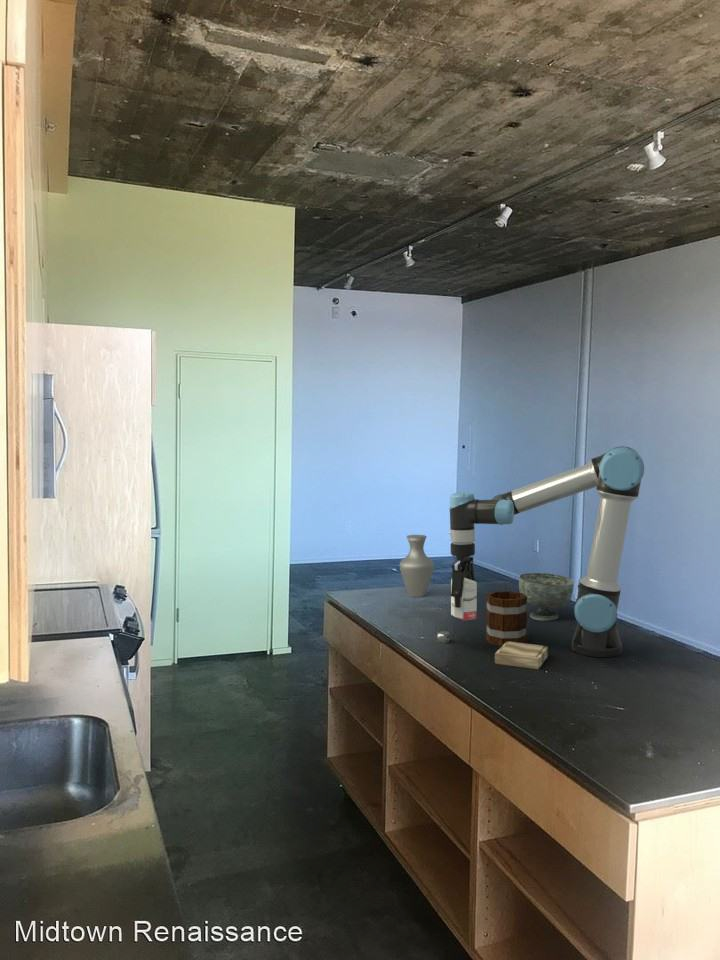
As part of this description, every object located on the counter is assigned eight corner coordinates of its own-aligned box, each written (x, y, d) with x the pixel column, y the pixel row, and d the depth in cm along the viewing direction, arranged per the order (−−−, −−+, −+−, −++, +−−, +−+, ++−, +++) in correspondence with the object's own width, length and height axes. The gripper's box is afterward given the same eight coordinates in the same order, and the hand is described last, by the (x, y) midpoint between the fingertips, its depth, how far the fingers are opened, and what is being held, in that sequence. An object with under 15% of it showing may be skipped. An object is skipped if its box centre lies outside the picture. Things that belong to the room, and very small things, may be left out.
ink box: (478, 619, 231) (477, 581, 230) (463, 621, 229) (463, 582, 228) (464, 612, 239) (463, 576, 238) (450, 614, 237) (449, 577, 236)
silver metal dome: (439, 639, 248) (439, 630, 247) (451, 641, 246) (450, 632, 246) (435, 642, 244) (435, 633, 244) (446, 644, 242) (446, 635, 242)
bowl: (576, 625, 263) (576, 583, 261) (520, 623, 266) (520, 582, 264) (569, 611, 282) (570, 572, 281) (517, 609, 285) (517, 571, 284)
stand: (506, 651, 234) (506, 640, 234) (547, 656, 229) (548, 645, 228) (494, 663, 223) (494, 651, 222) (538, 669, 217) (538, 657, 217)
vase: (417, 589, 320) (416, 532, 318) (441, 595, 309) (441, 536, 307) (392, 595, 311) (392, 535, 309) (416, 601, 300) (416, 539, 298)
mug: (524, 648, 237) (524, 601, 236) (482, 644, 242) (482, 598, 240) (531, 631, 256) (531, 588, 255) (491, 628, 260) (491, 586, 259)
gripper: (462, 536, 243) (463, 604, 245) (439, 547, 224) (440, 621, 226) (484, 537, 240) (485, 606, 242) (463, 548, 221) (464, 623, 222)
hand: (464, 613), depth 234 cm, fingers closed on ink box, 9 cm apart
